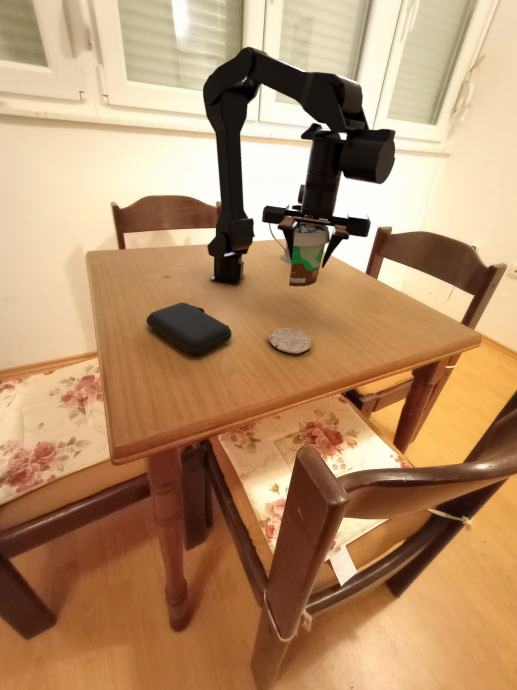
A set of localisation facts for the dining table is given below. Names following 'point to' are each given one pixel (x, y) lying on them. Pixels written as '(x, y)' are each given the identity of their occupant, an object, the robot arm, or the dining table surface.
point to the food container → (308, 253)
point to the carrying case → (189, 328)
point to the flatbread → (290, 340)
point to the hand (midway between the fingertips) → (307, 264)
